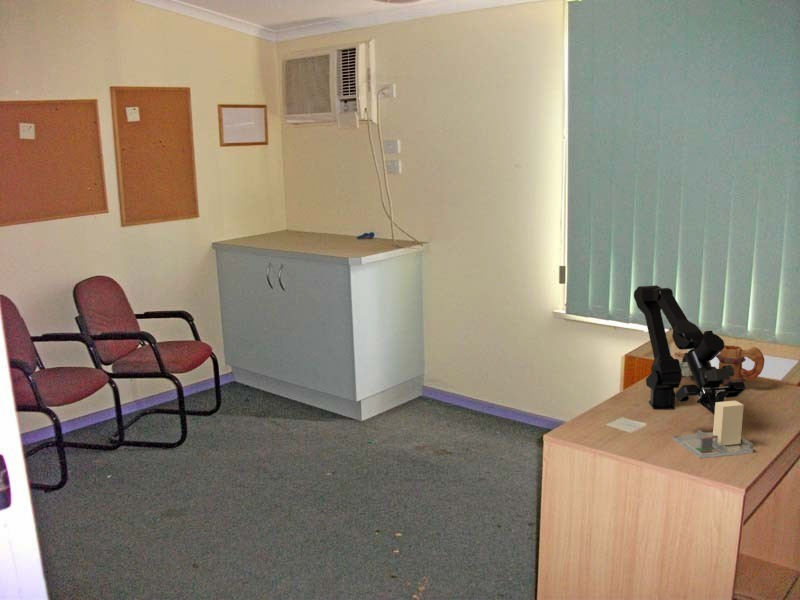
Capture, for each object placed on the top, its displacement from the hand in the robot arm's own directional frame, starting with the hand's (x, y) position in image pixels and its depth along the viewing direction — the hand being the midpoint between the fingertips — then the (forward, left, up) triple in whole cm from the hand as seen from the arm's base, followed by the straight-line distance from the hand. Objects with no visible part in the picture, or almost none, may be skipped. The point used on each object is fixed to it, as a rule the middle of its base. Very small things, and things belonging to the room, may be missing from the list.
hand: (721, 419), depth 203 cm
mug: (+21, +45, -7) cm, 50 cm away
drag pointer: (-6, -8, -5) cm, 11 cm away
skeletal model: (+11, +59, -7) cm, 60 cm away
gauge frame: (-3, -2, -7) cm, 8 cm away
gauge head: (-2, -3, -6) cm, 7 cm away
